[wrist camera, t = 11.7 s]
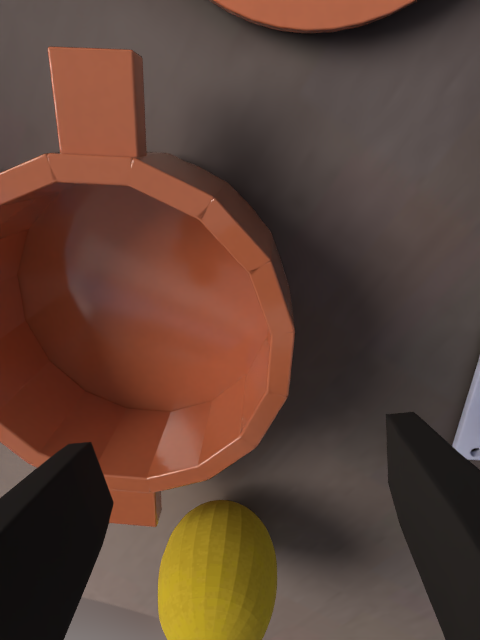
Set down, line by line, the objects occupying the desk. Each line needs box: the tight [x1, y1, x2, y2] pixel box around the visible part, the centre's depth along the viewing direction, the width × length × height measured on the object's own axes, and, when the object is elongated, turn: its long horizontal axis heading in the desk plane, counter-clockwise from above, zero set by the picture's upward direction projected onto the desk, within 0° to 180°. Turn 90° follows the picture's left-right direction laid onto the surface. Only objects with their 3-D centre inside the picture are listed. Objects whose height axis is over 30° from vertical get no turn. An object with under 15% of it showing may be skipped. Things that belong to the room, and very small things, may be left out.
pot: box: [0, 47, 295, 527], centre depth 17 cm, size 13×18×5 cm
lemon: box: [158, 500, 277, 640], centre depth 20 cm, size 6×6×8 cm
